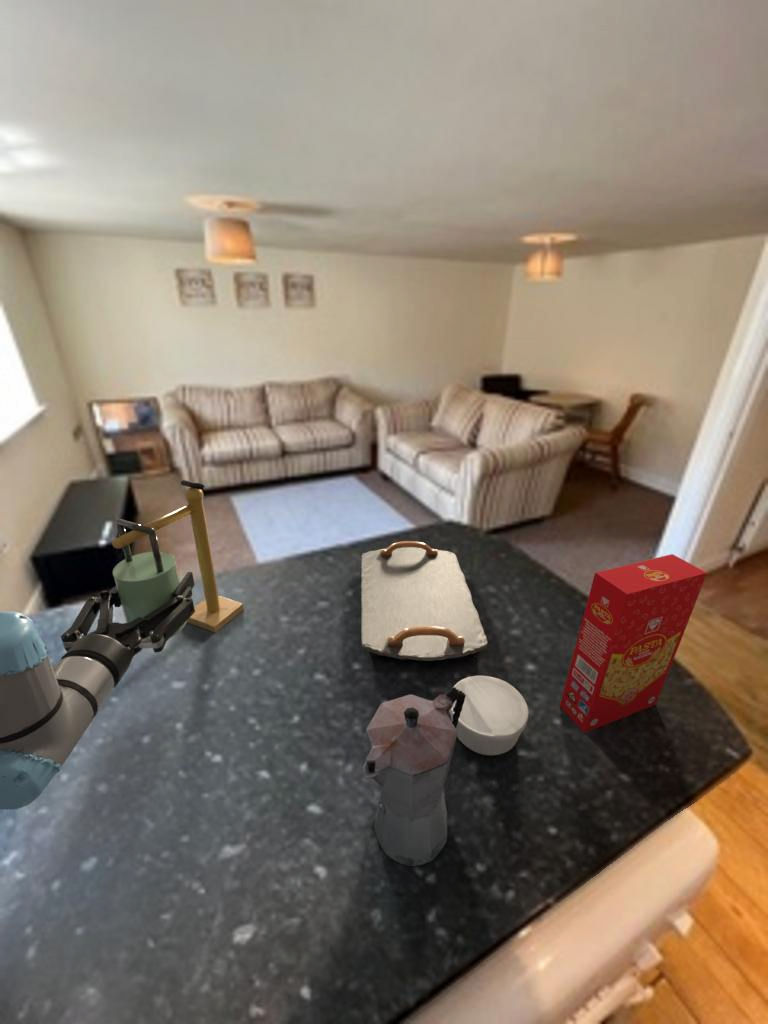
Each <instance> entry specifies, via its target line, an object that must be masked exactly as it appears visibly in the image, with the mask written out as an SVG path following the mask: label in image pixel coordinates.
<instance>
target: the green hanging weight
mask: <svg viewBox="0 0 768 1024" xmlns="http://www.w3.org/2000/svg"><path fill="white" fill-rule="evenodd" d="M115 524H116V528H117V532H118V537H120V536H122V535H124V534H126V533H127V531H126V528H127V529H130V530H132V531H133V530H137V531H140V532H143V533H147V534H148V538H149V542H150V548H151V551H146V552H141V553H138V554H135V555H132V551H131V547H130V544H128V545H126V546H124V547H122V548H121V549H122V552H123V556H124V559H123V560H121V561H119V563H117V564H116V565H115V566H114V568H113V569H112V576H113V580H114V584H115V586H116V588H117V591H118V595H119V599H120V602H121V606H120V607H121V609H122V613H123V616H124V621H125V623H130V622H132V621H133V620H135V619H136V618H138V617H141V618H143V617H144V616H146V615H148V614H149V613H151V612H152V611H154V610H155V609H157V608H159V607H160V606H162V605H163V604H165V603H166V602H168V601H170V600H171V599H173V596H172V593H173V592H174V591H175V589H176V588H177V587H178V585H179V584H180V582H181V581H180V576H179V572H178V565H177V562H176V558H175V556H173V554H171V553H169V552H165V551H161V550H160V546H159V541H158V536H157V533H156V531H155V529H153V528H150V527H147V526H143V525H142V524H139V523H136V522H132V521H129V520H125V519H122V518H117V519H116V521H115ZM187 623H188V622H187V621H186V622H185V623H184V624H183V625H182V626H181V627H180V628H179V629H178V630H177V631H176V632H175V633H174V634H173V635H172V636H171V637H170V638H172V637H174V636H176V635H177V634H178V633H179V632H181V631H182V630H183V629H184V628H185V627H186V624H187ZM138 630H139V627H138ZM139 632H140V631H139Z"/></svg>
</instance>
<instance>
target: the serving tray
mask: <svg viewBox="0 0 768 1024" xmlns="http://www.w3.org/2000/svg"><path fill="white" fill-rule="evenodd" d="M360 567H361V574H360V578H361V585H360V588H361V592H360V596H361V598H360V601H361V605H360V609H361V613H360V615H361V623H360V625H361V627H360V629H361V631H360V632H361V637H360V638H361V647H362V649H363V650H365V651H367V652H368V654H369V656H370V658H371V659H375V660H376V659H378V658H379V656H385V657H388V658H392V659H397V660H408V661H409V660H411V661H420V662H431V661H432V662H434V661H444V660H448V659H449V660H450V659H458V658H462V657H466V656H469V655H470V654H471V655H472V656H477V657H478V656H479V655H480V654H481V652H482V651H483V650H485V649H488V646H489V642H488V639H487V635H486V633H485V630H484V627H483V625H482V622H481V619H480V614H479V612H478V610H477V608H476V607H475V604H474V603H473V596H472V593H471V590H470V588H469V587H468V584H467V581H466V576H465V574H464V573H463V571H462V568H461V566H460V563H459V560H458V557H457V555H456V554H455V553H454V552H451V551H449V550H441V549H437V548H432V547H430V546H429V545H428V544H427V543H425V542H422V541H417V540H415V541H414V540H404V541H397V542H394V543H392V544H390V545H389V546H388V547H386V548H380V549H375V550H369V551H366V552H364V553H362V554H361V565H360ZM471 655H470V656H471ZM472 656H471V657H472Z"/></svg>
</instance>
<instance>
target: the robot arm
mask: <svg viewBox="0 0 768 1024" xmlns="http://www.w3.org/2000/svg"><path fill="white" fill-rule="evenodd" d="M194 587H195V580H194V574H193V571H187V572H186V574H185V575H184V577H183V578H182V579H181V581H180V584H179V585H178V587H177V588H176V589H175V591H174V592H173V593H172V596H173V599H171V600H170V601H168V602H166V603H165V604H163V605H162V606H160V607H159V608H157V609H155V610H154V611H152V612H151V613H149V614H148V615H146V616H144V617H143V618H141V617H138V618H136V619H135V620H133V621H132V622H130V623H126V622H123V623H121V622H113V621H114V607H115V608H120V607H122V606H121V602H120V599H119V595H118V591H117V588H116V585H114V586H113V587H112V588H111V589H110V590H102V591H100V592H99V596H100V597H99V598H97V597H96V596H90V597H88V598H87V599H86V601H85V603H84V604H83V606H82V607H81V609H80V610H79V612H78V614H77V615H76V617H75V619H74V621H73V622H72V624H71V626H70V627H69V628H68V629H67V630H66V631H65V632H63V634H61V636H60V639H61V642H62V645H63V647H64V650H65V654H63V656H62V657H61V659H60V660H58V661H57V663H55V664H54V665H52V662H51V659H50V657H49V651H48V648H47V646H46V645H45V643H44V642H43V639H42V638H41V636H40V634H39V631H38V629H37V627H36V625H35V623H34V621H33V620H32V619H31V618H30V617H28V616H27V615H25V614H24V613H22V612H18V611H11V610H10V611H8V610H4V611H3V610H2V611H0V810H10V811H12V810H18V809H22V808H24V807H27V806H28V805H30V804H32V803H33V802H34V801H36V800H37V799H38V798H39V797H40V796H41V794H42V793H43V792H44V790H45V789H46V787H47V786H48V785H49V784H50V782H51V781H52V780H53V779H54V777H55V776H56V775H57V774H58V773H59V772H60V771H61V770H62V767H63V766H64V764H65V762H66V760H67V759H68V758H69V756H70V755H71V753H72V752H73V750H74V749H75V747H76V745H77V744H78V743H79V741H80V740H81V738H82V737H83V735H84V734H85V732H87V731H86V730H87V729H88V728H89V726H90V725H91V724H92V722H93V719H94V718H95V717H96V716H97V714H99V711H100V710H101V709H102V707H103V705H105V703H106V701H107V699H109V697H110V695H111V694H112V692H113V691H114V689H115V688H116V687H117V685H118V684H119V683H120V681H121V680H122V678H123V677H124V675H126V673H127V671H128V670H129V668H130V666H131V663H132V660H133V658H134V657H135V656H136V655H137V654H139V653H140V652H141V651H142V650H144V649H152V650H153V652H154V653H160V652H162V651H163V650H164V648H165V645H166V643H167V642H168V641H169V640H170V638H172V637H173V636H172V635H173V634H174V633H175V632H176V631H177V630H178V629H179V628H180V627H181V626H182V625H183V624H184V623H185V622H186V621H187V620H188V619H189V618H190V617H191V616H192V615H193V614H194V612H195V609H194V607H195V605H194V599H193V598H192V596H193V589H194ZM98 615H99V616H98ZM97 616H98V618H97ZM96 619H97V626H96V629H95V630H93V631H91V632H90V630H91V628H92V626H93V624H94V622H95V620H96ZM186 623H187V622H186ZM138 627H139V630H138ZM139 631H140V632H139ZM171 636H172V637H171Z"/></svg>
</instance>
